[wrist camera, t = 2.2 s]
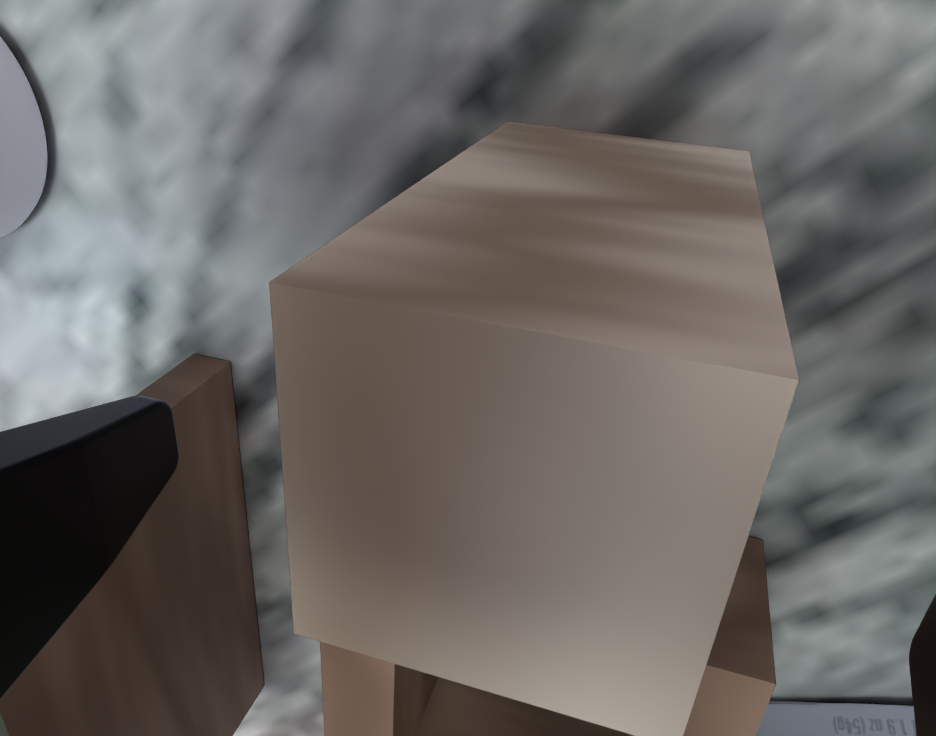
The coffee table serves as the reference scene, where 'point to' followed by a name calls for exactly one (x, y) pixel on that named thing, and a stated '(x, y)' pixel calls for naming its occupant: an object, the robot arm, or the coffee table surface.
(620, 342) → the peg
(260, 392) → the coffee table surface
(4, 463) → the robot arm
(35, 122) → the bath foam
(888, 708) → the tea box
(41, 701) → the socket block
